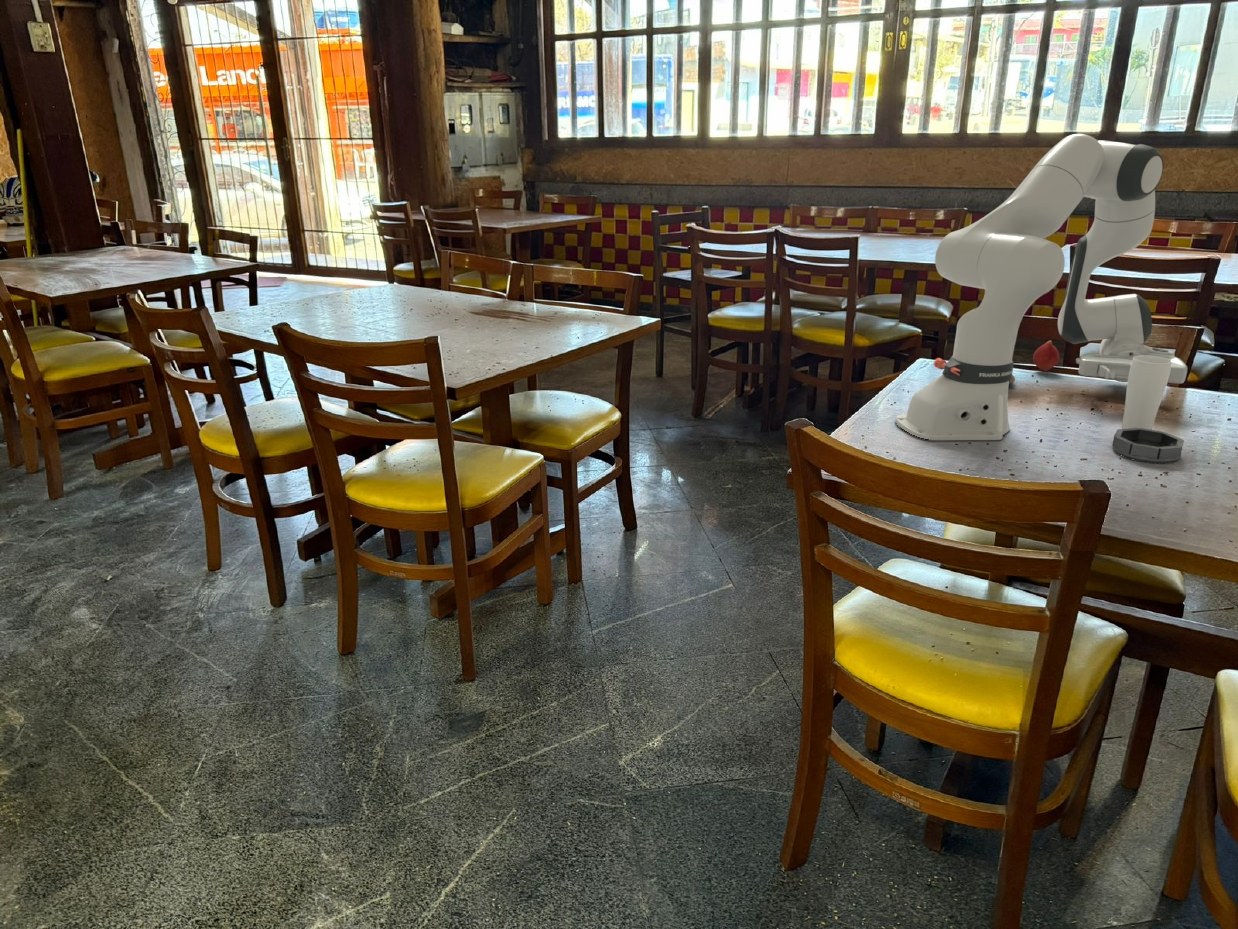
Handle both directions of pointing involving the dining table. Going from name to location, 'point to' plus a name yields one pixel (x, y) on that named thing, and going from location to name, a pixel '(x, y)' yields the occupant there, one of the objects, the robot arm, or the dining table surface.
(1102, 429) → the dining table surface
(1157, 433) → the ring
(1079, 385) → the dining table surface
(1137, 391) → the drinking glass
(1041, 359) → the onion
